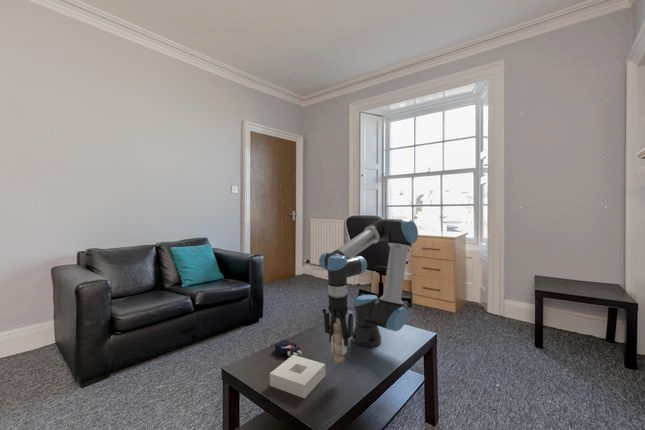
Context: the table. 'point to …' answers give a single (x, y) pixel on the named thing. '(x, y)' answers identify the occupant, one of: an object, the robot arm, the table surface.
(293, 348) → the figurine
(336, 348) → the dowel
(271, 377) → the socket block
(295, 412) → the table surface
